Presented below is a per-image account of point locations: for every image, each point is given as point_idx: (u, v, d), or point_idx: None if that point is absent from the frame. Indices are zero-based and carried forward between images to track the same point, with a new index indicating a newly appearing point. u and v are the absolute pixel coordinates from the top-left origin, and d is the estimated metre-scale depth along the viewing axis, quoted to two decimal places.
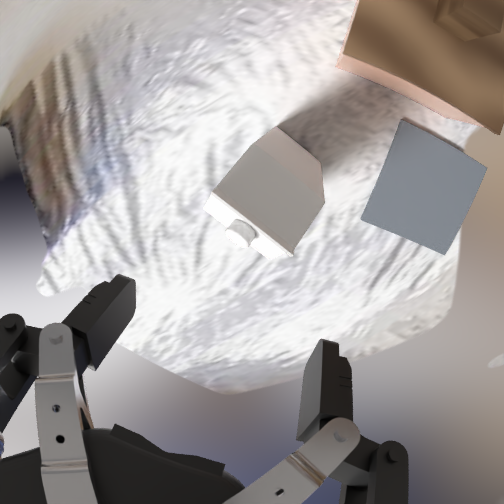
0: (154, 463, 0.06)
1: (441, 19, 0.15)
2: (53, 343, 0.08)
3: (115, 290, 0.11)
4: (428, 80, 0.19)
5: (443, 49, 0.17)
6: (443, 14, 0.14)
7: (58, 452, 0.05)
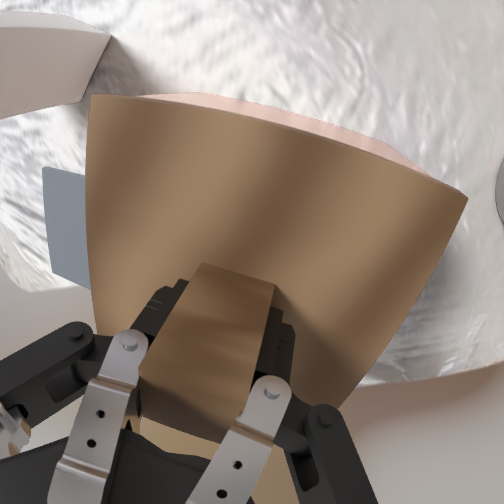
0: (154, 463, 0.06)
1: None
2: (130, 351, 0.09)
3: (181, 294, 0.12)
4: (99, 246, 0.14)
5: (158, 275, 0.14)
6: (189, 296, 0.11)
7: (83, 454, 0.05)
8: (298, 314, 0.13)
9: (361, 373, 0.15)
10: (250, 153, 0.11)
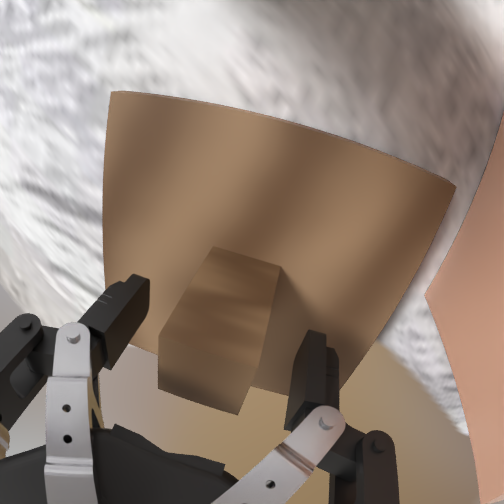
0: (154, 463, 0.06)
1: None
2: (71, 343, 0.08)
3: (131, 289, 0.11)
4: (114, 233, 0.15)
5: (171, 259, 0.15)
6: (203, 274, 0.12)
7: (64, 452, 0.05)
8: (302, 295, 0.15)
9: (361, 354, 0.16)
10: (259, 146, 0.12)
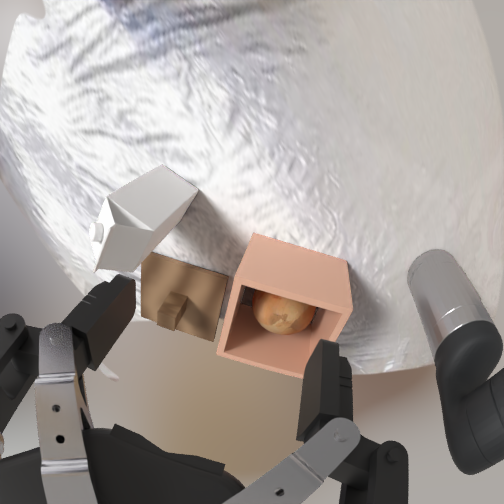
0: (154, 463, 0.06)
1: (167, 296, 0.53)
2: (53, 343, 0.08)
3: (115, 290, 0.11)
4: (144, 285, 0.55)
5: (160, 293, 0.55)
6: (167, 299, 0.52)
7: (58, 452, 0.05)
8: (194, 304, 0.54)
9: (215, 322, 0.56)
10: (178, 270, 0.52)
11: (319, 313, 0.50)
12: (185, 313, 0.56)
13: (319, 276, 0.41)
